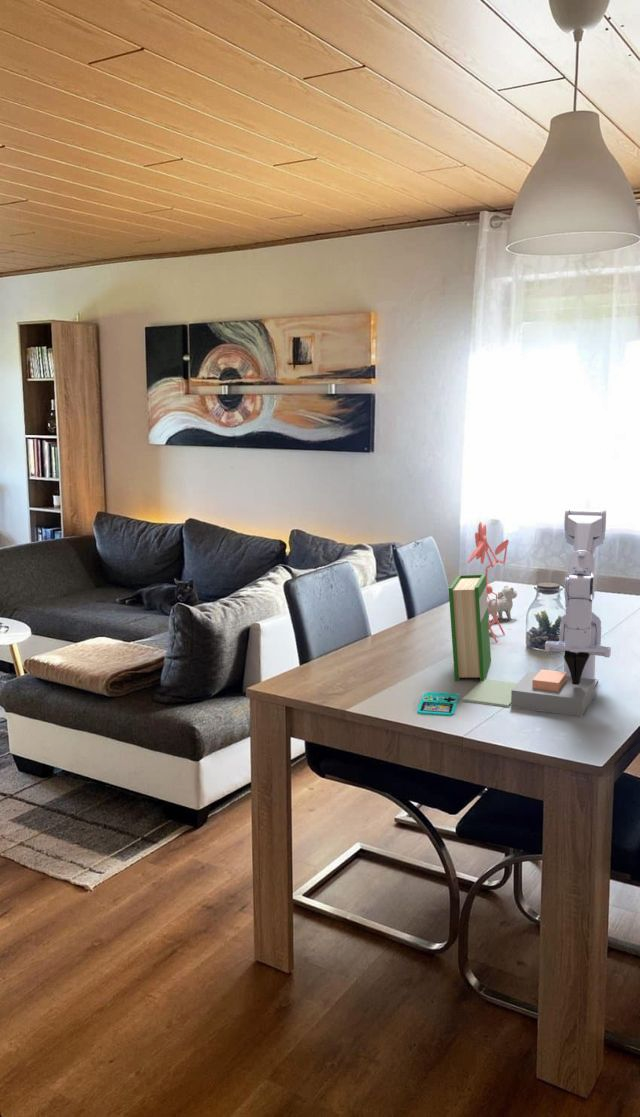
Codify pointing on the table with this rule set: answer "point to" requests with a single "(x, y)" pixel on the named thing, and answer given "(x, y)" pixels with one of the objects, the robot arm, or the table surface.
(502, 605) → the dog figurine
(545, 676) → the terracotta tile
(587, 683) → the block
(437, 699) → the handheld gaming console
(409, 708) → the table surface
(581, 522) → the robot arm
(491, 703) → the sage mat
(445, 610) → the table surface
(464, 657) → the hardback book
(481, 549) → the figurine
